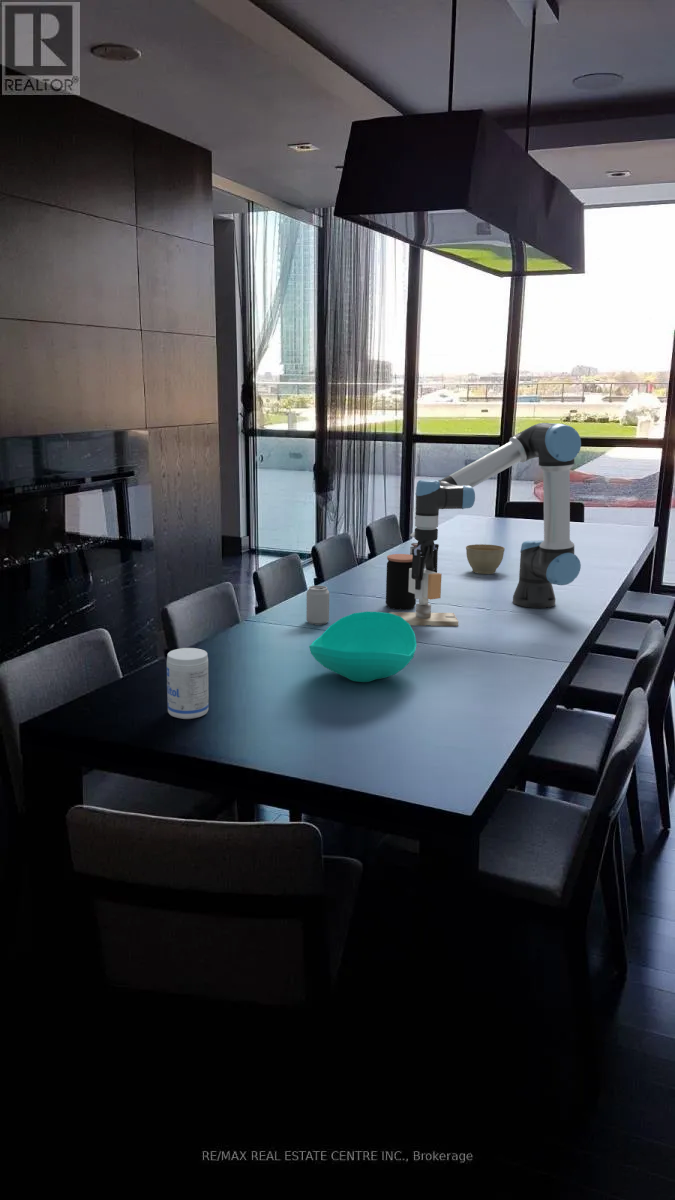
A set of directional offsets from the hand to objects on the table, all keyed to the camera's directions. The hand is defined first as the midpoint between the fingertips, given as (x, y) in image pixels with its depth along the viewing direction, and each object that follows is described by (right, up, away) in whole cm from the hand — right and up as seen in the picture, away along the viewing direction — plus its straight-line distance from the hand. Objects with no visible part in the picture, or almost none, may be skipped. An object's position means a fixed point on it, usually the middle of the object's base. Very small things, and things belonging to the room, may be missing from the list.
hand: (423, 597), depth 285 cm
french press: (+8, +14, +91) cm, 92 cm away
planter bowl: (+34, +11, +80) cm, 88 cm away
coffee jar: (-6, -3, +21) cm, 22 cm away
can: (-35, -9, -2) cm, 36 cm away
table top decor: (-22, -22, -55) cm, 63 cm away
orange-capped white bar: (0, -2, 0) cm, 2 cm away
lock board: (0, -8, +2) cm, 8 cm away
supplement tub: (-64, -28, -82) cm, 107 cm away
